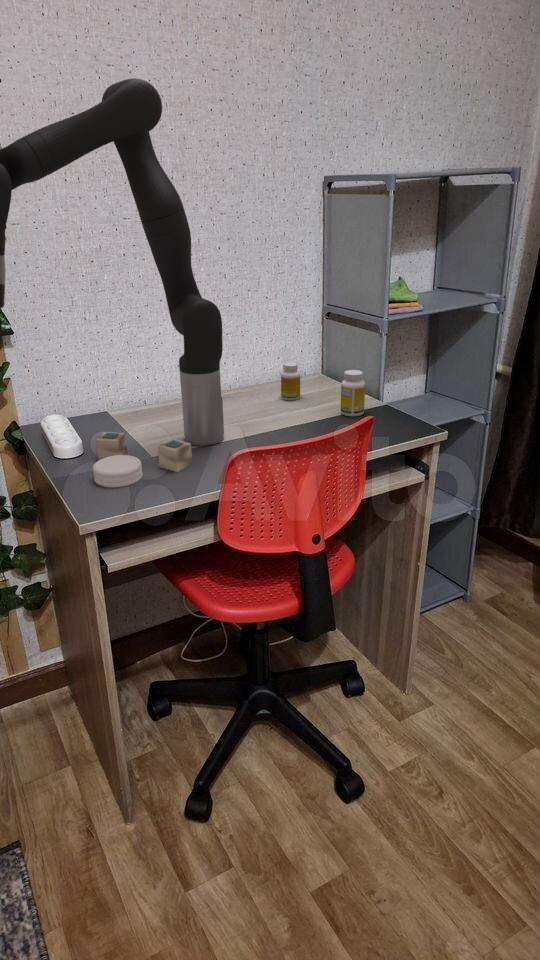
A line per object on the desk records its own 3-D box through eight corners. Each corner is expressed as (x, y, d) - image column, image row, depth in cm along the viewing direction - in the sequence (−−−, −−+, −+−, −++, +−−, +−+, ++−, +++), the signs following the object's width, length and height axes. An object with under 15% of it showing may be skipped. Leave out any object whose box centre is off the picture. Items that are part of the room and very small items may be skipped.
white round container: (124, 465, 148) (123, 450, 147) (152, 477, 142) (150, 462, 140) (85, 479, 142) (83, 464, 140) (112, 493, 135) (110, 477, 134)
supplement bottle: (300, 400, 186) (300, 366, 182) (281, 401, 186) (280, 366, 182) (299, 394, 191) (300, 361, 187) (281, 395, 191) (280, 361, 187)
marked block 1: (107, 452, 155) (104, 430, 153) (127, 453, 154) (125, 431, 152) (98, 460, 150) (95, 438, 148) (119, 461, 150) (117, 439, 147)
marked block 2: (175, 459, 150) (173, 437, 148) (192, 464, 148) (190, 442, 145) (159, 467, 146) (157, 444, 144) (177, 472, 144) (175, 449, 142)
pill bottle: (363, 409, 179) (365, 369, 174) (364, 417, 173) (366, 375, 168) (340, 409, 179) (341, 368, 175) (340, 416, 174) (341, 375, 169)
